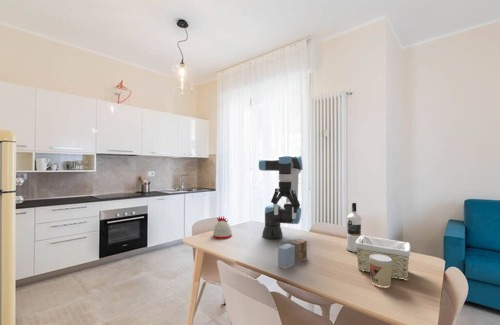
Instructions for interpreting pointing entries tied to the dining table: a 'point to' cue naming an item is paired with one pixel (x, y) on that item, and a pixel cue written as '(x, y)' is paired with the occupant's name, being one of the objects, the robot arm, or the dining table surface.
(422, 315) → the dining table surface
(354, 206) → the vodka
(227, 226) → the beanie hat
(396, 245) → the storage basket
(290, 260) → the slate block
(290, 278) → the dining table surface
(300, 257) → the walnut block
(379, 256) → the coffee cup
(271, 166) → the robot arm
